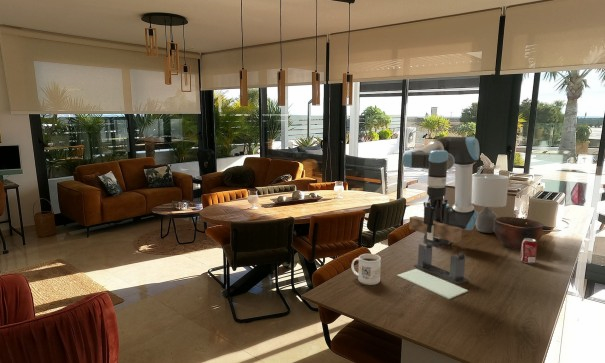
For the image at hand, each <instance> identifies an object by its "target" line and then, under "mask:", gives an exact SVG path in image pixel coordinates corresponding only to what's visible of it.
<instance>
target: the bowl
mask: <svg viewBox="0 0 605 363" xmlns="http://www.w3.org/2000/svg"><path fill="white" fill-rule="evenodd" d="M494 222H495V225H494V229H493V231H494V232H493V233H494V234H495V236H496V237H497V238H498V239H499V240H500V241H501V242H502V244H503V245H504V246H505V247H506V248H510V249H512V250H520V251H521V248H522V241H523V240H524V238H532V239H535V240H536V242H537V243H538V242H539V241H540V239H541V238H542V236H543V233H542V232H543V228H544V227H545V225H544V224H543V223H542V222H539V221H537V220H532V219H529V218H522V217H514V216H497V217H496V218H494Z"/></svg>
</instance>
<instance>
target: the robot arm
mask: <svg viewBox="0 0 605 363" xmlns="http://www.w3.org/2000/svg"><path fill="white" fill-rule="evenodd" d="M479 158H480V143H479V140H478V139H477V138H476V137H470V136H442V137H437V138H434V139H433V140H431V141H429V142H428V143H427V144H426V145H425V146H423V147H421V148H419V149H417V150H415V151H404V153H403V155H402V165H403V167H404V168H410V169H427V170H428V173H427V188H426V194H427V196H428V199H427V201H424V202H423V203H422V204H423V208H424V210H423V218H424V224H426V225H427V234H425V233H424V235H423V238H422V239H423V240H422V241H423V243H424V244H427V242H429V243H432V244H433V246H432V247H446V246H450V244H451V241H448V240H444V239H441V238H438V237H435V236H433V233H434V226H433V221H436V222H440V223H444V224H448V225H451V226H455V227H459V228H462V231H463V230H464V231H472V230H474V228H475V227H476V225H475V223H476V219H477V214H478V213H479V211H478V210H476V209H475V206H474V204H472V178H473V165H474V164H476V163H477V161H478V160H479ZM454 166H455V168H454V176H455V177H454V178H455V179H454V204H452V206H451V205H450V204H449V203H448V199H445V198H444V197H445V196H446V191H447V189H446V186H447V176H448V174H447V173H448V170H450V169H452V167H454ZM450 206H451V207H450Z"/></svg>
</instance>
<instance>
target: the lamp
mask: <svg viewBox="0 0 605 363" xmlns="http://www.w3.org/2000/svg"><path fill="white" fill-rule="evenodd" d="M509 178H510V177H509V176H508V175H503V174H496V173H495V174H493V173H476V174H475V173H474V174H472V205H475V206H480V207H484V208H483V209H482V210H480V211H478V214H477V219H476V223H475V228H476V229H477V231H478V232H480V233H483V234H492V233H494V231H493V229H494V225H495V222H494V218H496V217H498V215H497V213H496V212H494V211H493V209H492V208H504V207H506V206H507V202H508V190H509V180H510V179H509Z"/></svg>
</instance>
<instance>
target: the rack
mask: <svg viewBox="0 0 605 363" xmlns="http://www.w3.org/2000/svg"><path fill="white" fill-rule="evenodd" d="M425 244H426V243H425ZM433 247H434V246H433V244H432V243H429V242H427V244H426V245H423V244H421V243H420V244H419V243H418V255H417V263H415V264H413V267H415V268H416V269H419V270H421V271H423V272H424V271H425V272H426V273H428V274H429V273H430V274H432V275H433V276H436V277H438V278H442V279H443V280H444V279H445V280H446V281H448V282H452V283H453V284H455V285H456V284H457V285H460V284H463V283H466V282H468V281H469V279H468V278H466V277H465V267H466V266H465V264H466V254H465V253H462V252H458V255H457V256H455V255H453V254H451V255H450V259H449V260H450V262H449V263H450V264H449V270H446V269H443V268H441V267H437V266H435V265H432V258H433Z"/></svg>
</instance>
